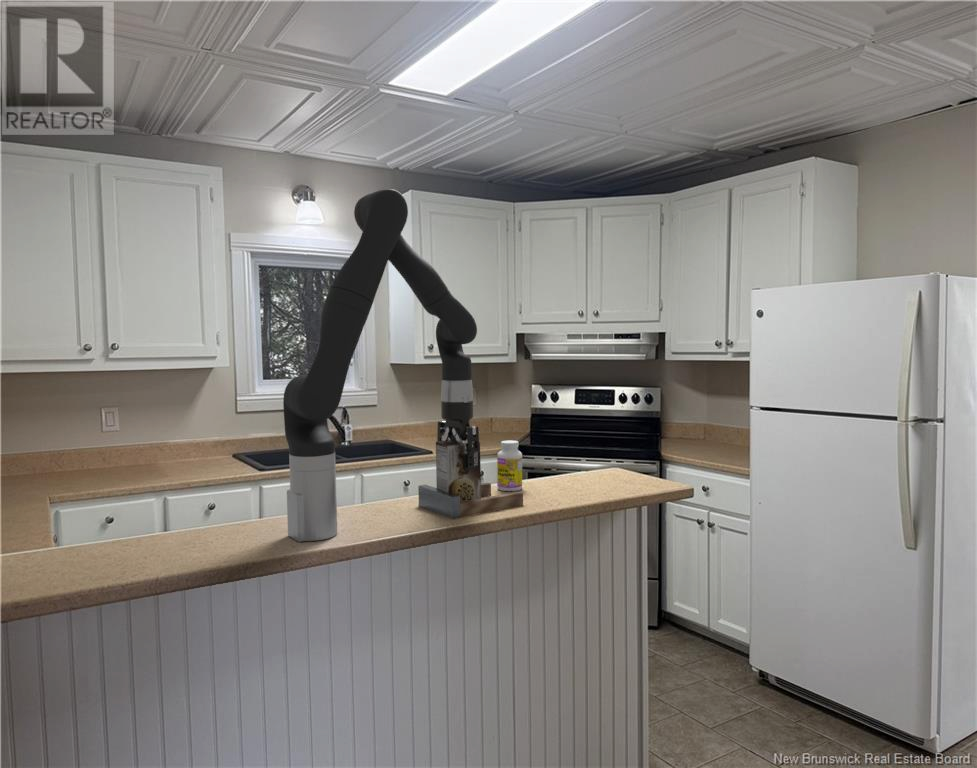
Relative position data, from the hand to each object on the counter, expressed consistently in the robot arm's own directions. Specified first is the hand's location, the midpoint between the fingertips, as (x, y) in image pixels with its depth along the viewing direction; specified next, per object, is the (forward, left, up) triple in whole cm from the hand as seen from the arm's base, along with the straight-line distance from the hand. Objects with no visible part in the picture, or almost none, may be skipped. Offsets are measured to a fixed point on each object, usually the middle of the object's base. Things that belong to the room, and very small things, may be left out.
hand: (457, 466), depth 163 cm
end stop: (-5, 0, -10) cm, 11 cm away
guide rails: (+5, 0, -10) cm, 11 cm away
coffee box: (0, 0, -10) cm, 10 cm away
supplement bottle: (+22, +8, -10) cm, 25 cm away
